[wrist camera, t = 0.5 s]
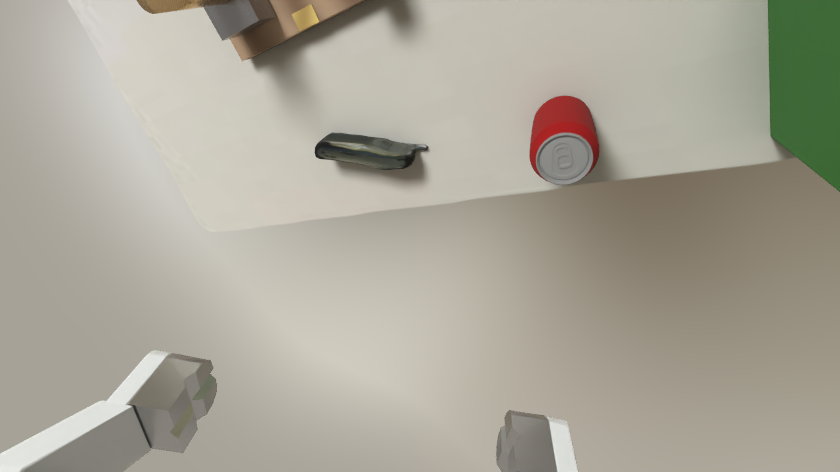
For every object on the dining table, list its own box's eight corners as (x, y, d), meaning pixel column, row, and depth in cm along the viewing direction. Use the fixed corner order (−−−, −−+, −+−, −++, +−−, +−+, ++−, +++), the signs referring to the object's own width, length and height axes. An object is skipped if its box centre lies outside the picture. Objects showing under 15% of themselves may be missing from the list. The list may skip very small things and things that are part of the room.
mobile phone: (313, 162, 57) (417, 175, 54) (310, 141, 56) (417, 153, 52) (330, 149, 61) (427, 160, 58) (327, 129, 60) (427, 139, 56)
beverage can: (539, 153, 53) (536, 196, 43) (527, 102, 50) (521, 136, 40) (595, 141, 50) (605, 184, 41) (587, 86, 47) (596, 118, 38)
